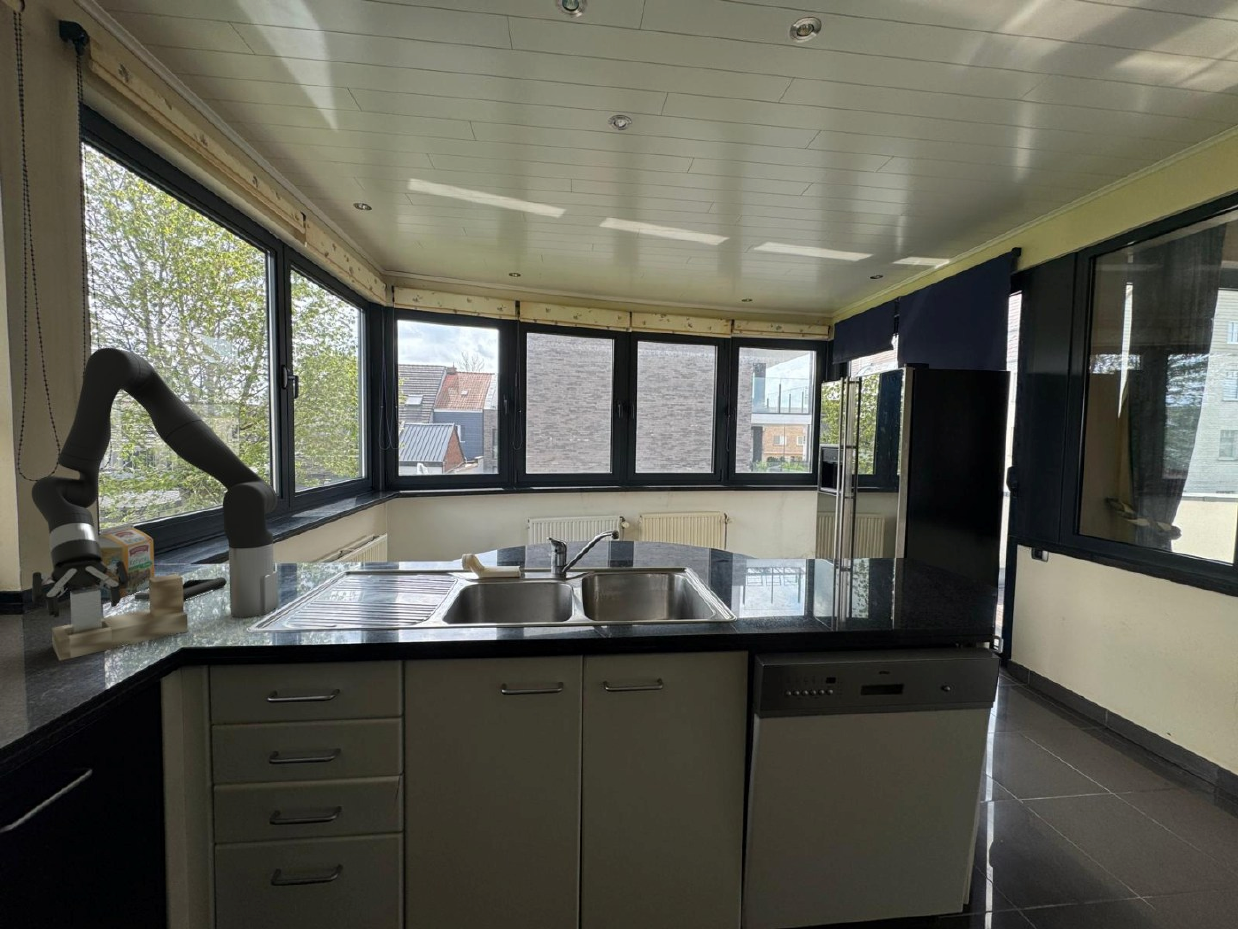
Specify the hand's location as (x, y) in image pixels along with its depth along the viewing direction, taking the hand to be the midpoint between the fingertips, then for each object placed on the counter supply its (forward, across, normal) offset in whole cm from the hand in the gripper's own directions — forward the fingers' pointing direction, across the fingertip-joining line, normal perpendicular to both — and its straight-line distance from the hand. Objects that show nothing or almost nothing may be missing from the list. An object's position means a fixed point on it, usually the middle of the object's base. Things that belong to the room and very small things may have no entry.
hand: (86, 609), depth 108 cm
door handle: (-16, +21, +28) cm, 38 cm away
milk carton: (-27, +12, +39) cm, 49 cm away
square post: (+5, 0, +6) cm, 8 cm away
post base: (+5, +6, +6) cm, 10 cm away
